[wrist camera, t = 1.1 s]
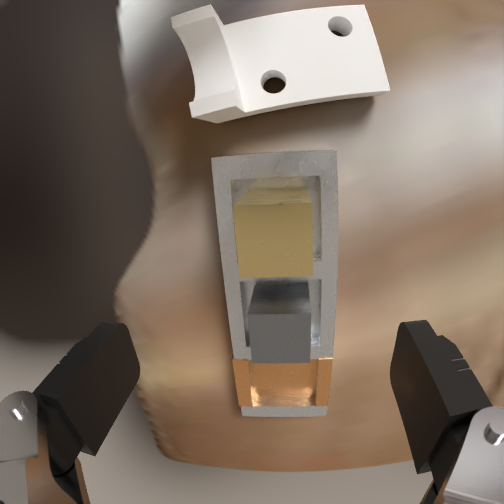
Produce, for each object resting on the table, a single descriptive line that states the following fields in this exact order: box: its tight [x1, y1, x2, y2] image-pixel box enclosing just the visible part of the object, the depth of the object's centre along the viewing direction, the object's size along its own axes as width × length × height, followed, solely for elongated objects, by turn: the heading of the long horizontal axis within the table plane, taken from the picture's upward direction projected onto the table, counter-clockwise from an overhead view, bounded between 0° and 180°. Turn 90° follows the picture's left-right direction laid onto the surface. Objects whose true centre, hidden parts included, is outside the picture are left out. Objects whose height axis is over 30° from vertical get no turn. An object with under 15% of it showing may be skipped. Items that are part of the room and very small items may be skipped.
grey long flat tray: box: [211, 150, 338, 417], centre depth 27 cm, size 26×9×3 cm, turn 4°
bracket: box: [170, 4, 390, 123], centre depth 18 cm, size 13×7×8 cm, turn 102°
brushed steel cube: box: [247, 283, 311, 363], centre depth 25 cm, size 4×4×5 cm
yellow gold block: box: [233, 187, 313, 278], centre depth 21 cm, size 4×4×6 cm
